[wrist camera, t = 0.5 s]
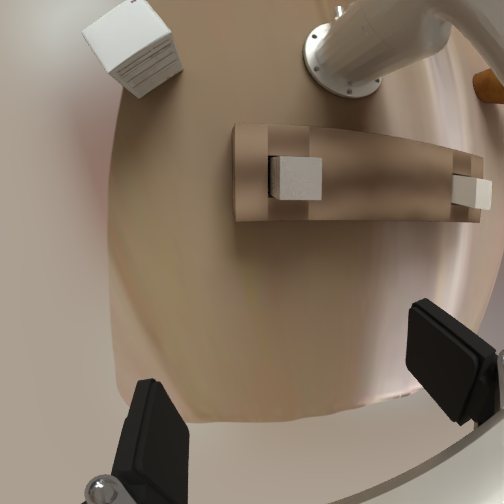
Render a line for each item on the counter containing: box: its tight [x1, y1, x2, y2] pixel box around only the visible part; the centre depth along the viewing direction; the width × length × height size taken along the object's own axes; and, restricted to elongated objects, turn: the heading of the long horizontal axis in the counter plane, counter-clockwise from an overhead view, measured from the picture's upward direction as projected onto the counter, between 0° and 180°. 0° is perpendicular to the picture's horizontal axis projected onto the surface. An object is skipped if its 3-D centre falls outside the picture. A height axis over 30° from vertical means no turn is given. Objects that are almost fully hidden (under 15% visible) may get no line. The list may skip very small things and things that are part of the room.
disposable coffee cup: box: [473, 68, 504, 104], centre depth 31 cm, size 10×10×12 cm
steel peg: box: [270, 156, 322, 200], centre depth 30 cm, size 4×4×6 cm
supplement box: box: [82, 0, 183, 99], centre depth 25 cm, size 7×7×13 cm
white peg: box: [451, 175, 492, 210], centre depth 33 cm, size 4×4×6 cm
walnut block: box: [232, 123, 483, 223], centre depth 36 cm, size 11×40×6 cm, turn 90°
